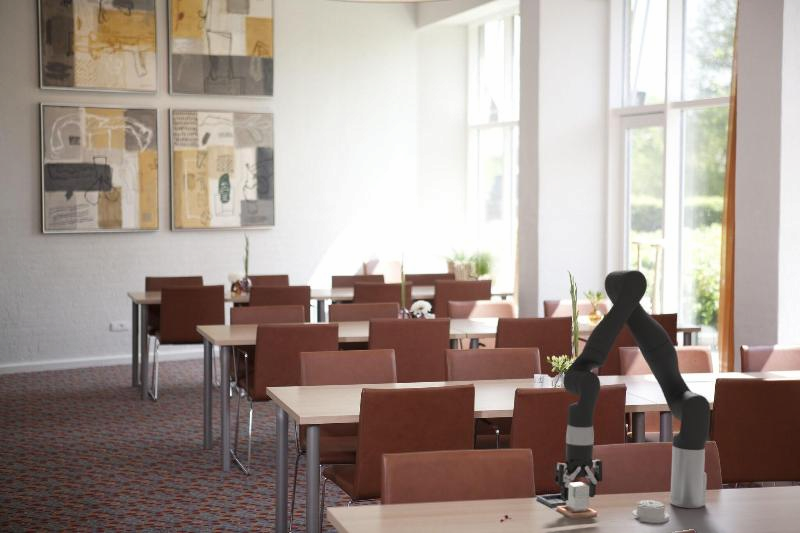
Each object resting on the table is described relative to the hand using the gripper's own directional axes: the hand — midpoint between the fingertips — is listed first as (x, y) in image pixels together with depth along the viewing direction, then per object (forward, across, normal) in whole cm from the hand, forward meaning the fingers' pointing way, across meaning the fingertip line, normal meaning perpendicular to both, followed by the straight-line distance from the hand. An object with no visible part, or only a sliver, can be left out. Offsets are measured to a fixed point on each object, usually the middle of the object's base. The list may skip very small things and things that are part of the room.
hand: (578, 498), depth 286 cm
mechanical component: (+6, -19, +8) cm, 21 cm away
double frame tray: (+5, 0, -5) cm, 7 cm away
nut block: (+4, 0, 0) cm, 4 cm away
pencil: (+6, +16, -9) cm, 19 cm away
